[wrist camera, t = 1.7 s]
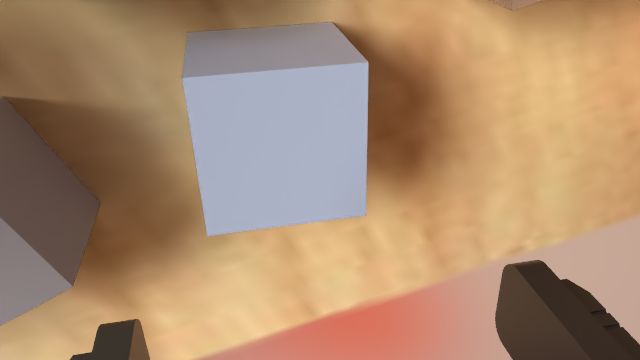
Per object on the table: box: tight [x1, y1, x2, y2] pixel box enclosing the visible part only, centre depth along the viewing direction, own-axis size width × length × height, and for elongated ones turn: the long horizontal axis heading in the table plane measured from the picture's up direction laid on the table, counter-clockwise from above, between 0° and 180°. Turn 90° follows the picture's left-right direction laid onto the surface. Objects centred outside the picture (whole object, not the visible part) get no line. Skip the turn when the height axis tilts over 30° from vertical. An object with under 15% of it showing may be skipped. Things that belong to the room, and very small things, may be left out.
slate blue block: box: [182, 22, 369, 236], centre depth 21 cm, size 6×6×6 cm
